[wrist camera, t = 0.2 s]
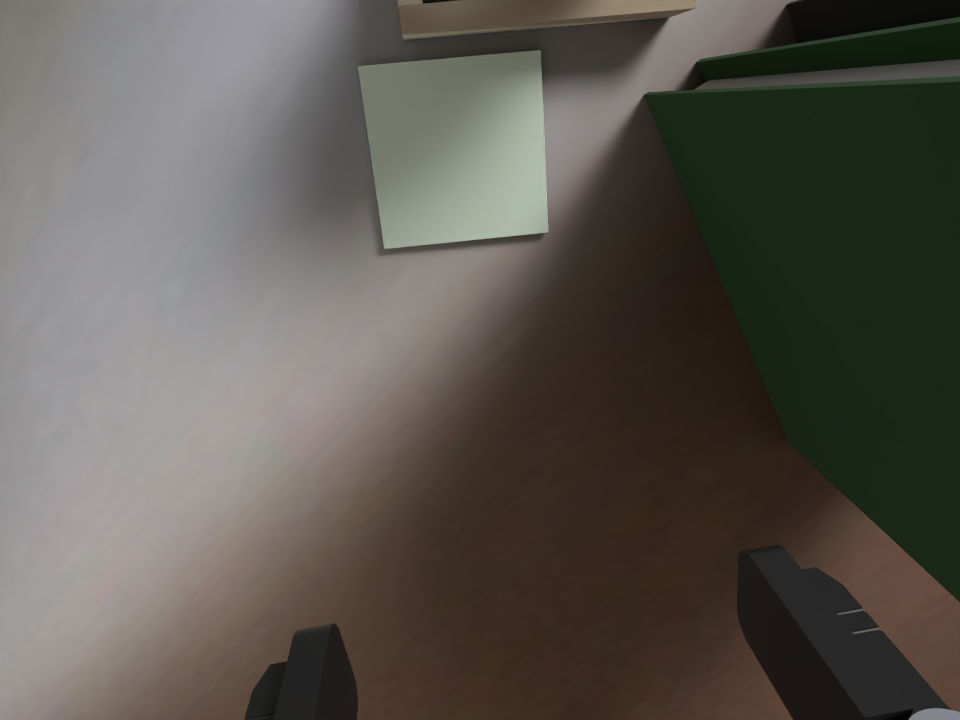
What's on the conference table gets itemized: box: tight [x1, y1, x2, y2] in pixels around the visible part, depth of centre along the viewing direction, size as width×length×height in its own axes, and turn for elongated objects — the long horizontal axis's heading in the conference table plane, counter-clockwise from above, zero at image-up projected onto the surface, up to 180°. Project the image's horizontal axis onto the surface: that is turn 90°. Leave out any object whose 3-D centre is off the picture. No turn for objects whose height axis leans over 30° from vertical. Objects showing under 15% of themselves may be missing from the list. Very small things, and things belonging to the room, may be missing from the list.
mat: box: [358, 50, 548, 249], centre depth 36 cm, size 10×10×1 cm
